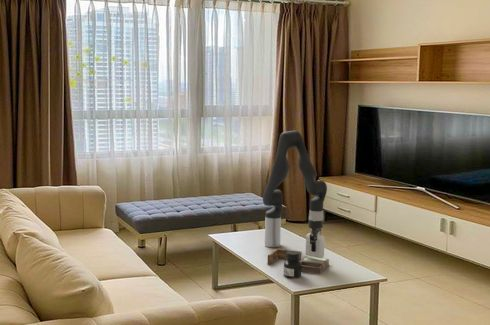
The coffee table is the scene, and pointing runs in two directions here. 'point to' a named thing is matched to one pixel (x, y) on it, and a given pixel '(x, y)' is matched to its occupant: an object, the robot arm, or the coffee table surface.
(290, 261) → the ink bottle
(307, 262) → the two-compartment wooden organizer
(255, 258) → the coffee table surface
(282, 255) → the wooden cubby shelf
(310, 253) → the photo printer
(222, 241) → the coffee table surface
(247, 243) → the coffee table surface
